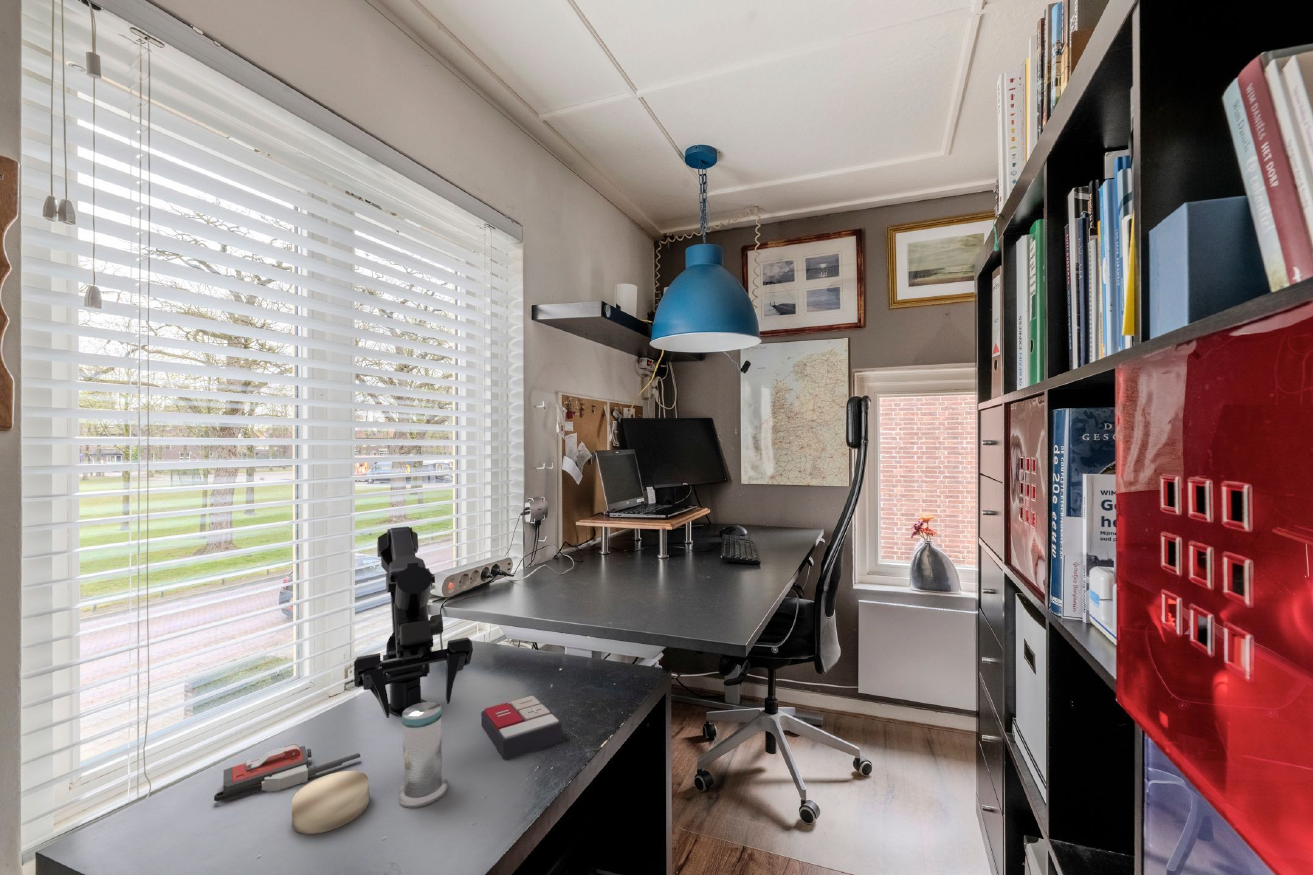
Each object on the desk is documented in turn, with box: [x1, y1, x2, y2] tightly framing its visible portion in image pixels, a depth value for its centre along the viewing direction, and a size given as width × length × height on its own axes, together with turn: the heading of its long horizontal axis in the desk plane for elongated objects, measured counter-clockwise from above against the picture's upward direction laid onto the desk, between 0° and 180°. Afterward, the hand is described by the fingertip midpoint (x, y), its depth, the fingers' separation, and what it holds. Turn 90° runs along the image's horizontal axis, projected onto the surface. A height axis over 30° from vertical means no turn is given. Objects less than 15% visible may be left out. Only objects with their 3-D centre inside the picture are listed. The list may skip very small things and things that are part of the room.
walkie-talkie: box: [213, 743, 361, 802], centre depth 93 cm, size 9×4×20 cm
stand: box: [291, 770, 370, 835], centre depth 83 cm, size 10×10×3 cm
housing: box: [397, 701, 449, 809], centre depth 87 cm, size 7×7×13 cm
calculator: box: [480, 695, 563, 761], centre depth 105 cm, size 11×4×15 cm
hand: (419, 709), depth 91 cm, fingers open, 9 cm apart
